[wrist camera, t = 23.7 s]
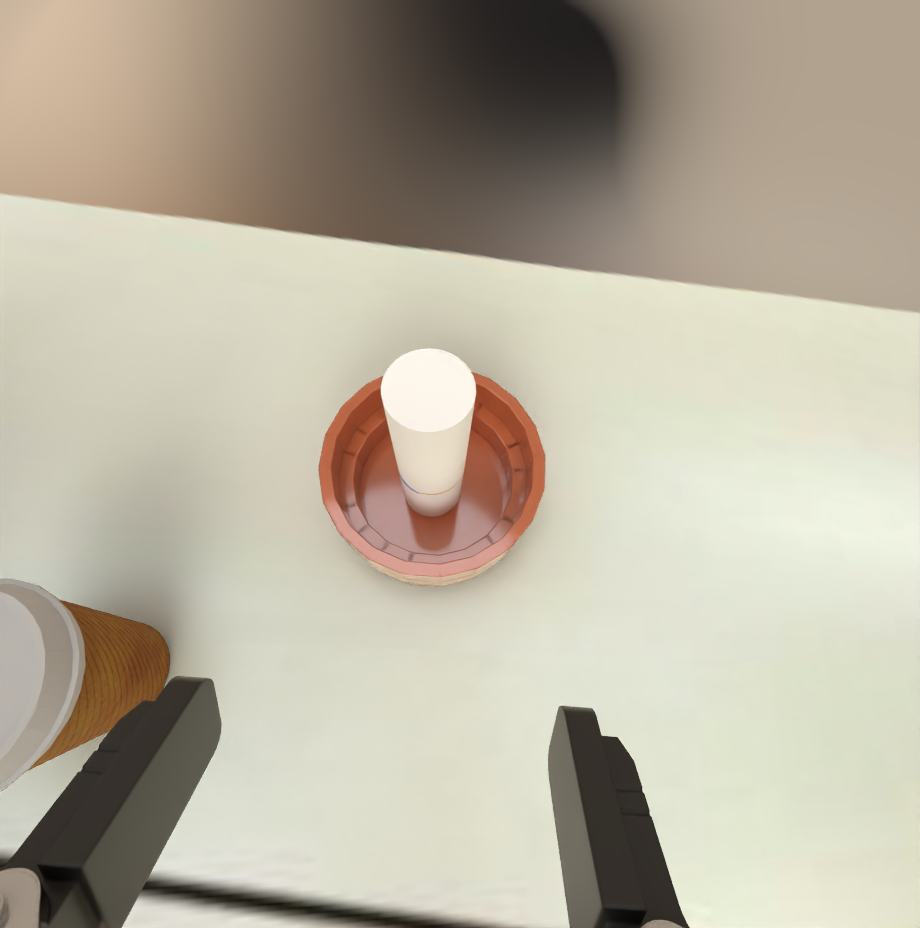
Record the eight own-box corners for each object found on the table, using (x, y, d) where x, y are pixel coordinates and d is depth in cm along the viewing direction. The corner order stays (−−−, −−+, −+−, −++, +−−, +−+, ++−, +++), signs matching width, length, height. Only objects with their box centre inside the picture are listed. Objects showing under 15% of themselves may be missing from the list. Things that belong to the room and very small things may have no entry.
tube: (466, 469, 36) (484, 359, 22) (453, 522, 34) (464, 441, 20) (412, 456, 36) (395, 339, 22) (397, 509, 34) (368, 419, 20)
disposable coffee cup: (111, 573, 32) (-62, 539, 21) (224, 637, 31) (106, 636, 20) (7, 710, 29) (-260, 755, 18) (129, 786, 28) (-75, 885, 17)
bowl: (442, 631, 32) (443, 629, 27) (297, 497, 35) (270, 470, 29) (565, 481, 36) (588, 453, 31) (427, 373, 39) (425, 329, 34)
